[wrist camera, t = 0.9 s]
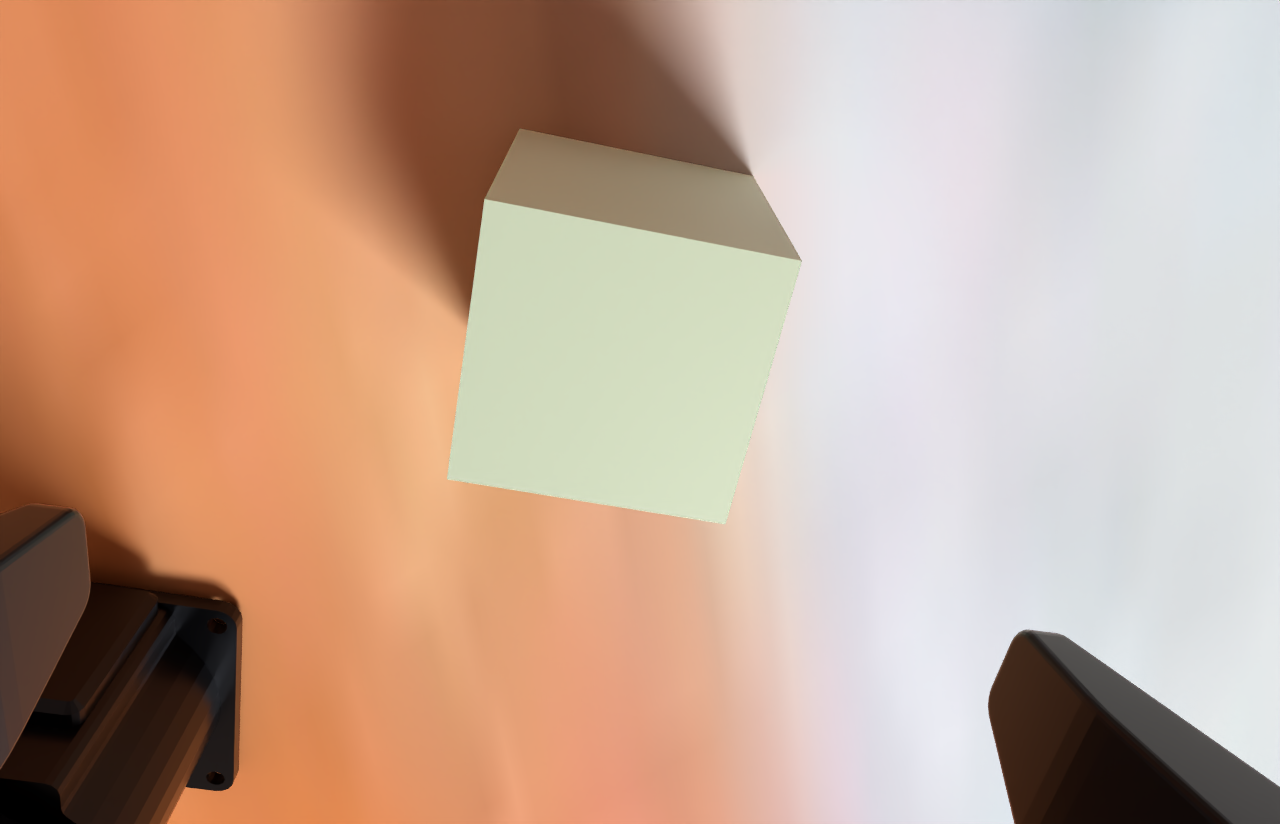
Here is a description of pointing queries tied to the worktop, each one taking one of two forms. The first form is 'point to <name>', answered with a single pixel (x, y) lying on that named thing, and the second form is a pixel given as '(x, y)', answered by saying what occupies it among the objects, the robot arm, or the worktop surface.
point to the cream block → (619, 328)
